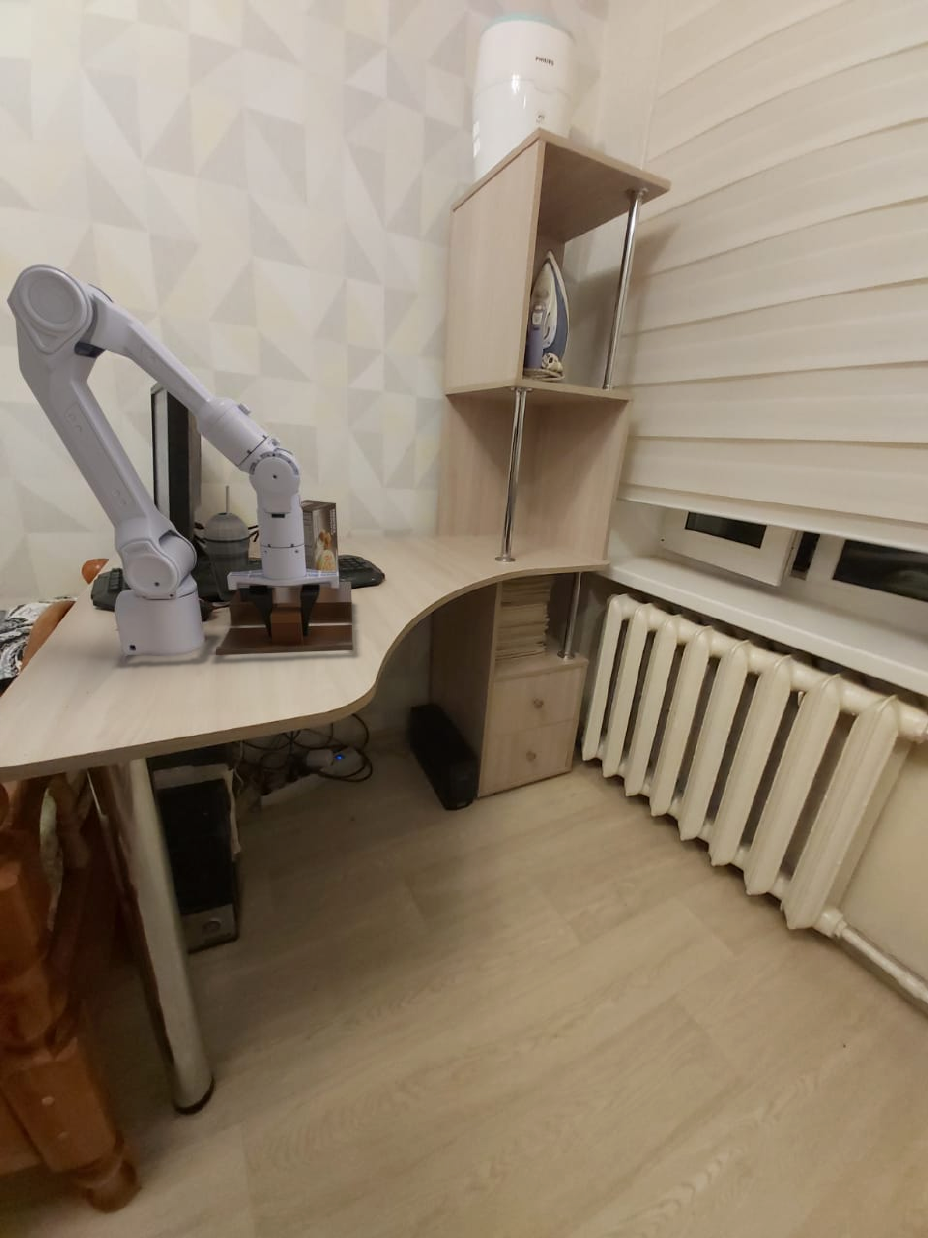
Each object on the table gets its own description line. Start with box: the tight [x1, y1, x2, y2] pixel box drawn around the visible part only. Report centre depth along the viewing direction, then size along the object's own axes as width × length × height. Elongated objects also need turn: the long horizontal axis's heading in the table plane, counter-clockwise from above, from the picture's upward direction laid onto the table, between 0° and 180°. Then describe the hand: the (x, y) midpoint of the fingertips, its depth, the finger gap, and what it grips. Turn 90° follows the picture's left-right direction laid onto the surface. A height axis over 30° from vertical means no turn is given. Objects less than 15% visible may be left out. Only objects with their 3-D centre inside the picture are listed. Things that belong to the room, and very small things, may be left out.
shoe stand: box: [215, 581, 354, 656], centre depth 77 cm, size 18×20×4 cm
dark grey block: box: [237, 563, 273, 601], centre depth 79 cm, size 8×4×5 cm, turn 13°
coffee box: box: [300, 499, 340, 574], centre depth 93 cm, size 9×6×16 cm
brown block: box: [270, 603, 304, 645], centre depth 73 cm, size 8×4×5 cm, turn 13°
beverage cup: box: [202, 485, 252, 602], centre depth 84 cm, size 7×7×20 cm
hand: (289, 634), depth 73 cm, fingers closed on brown block, 4 cm apart
